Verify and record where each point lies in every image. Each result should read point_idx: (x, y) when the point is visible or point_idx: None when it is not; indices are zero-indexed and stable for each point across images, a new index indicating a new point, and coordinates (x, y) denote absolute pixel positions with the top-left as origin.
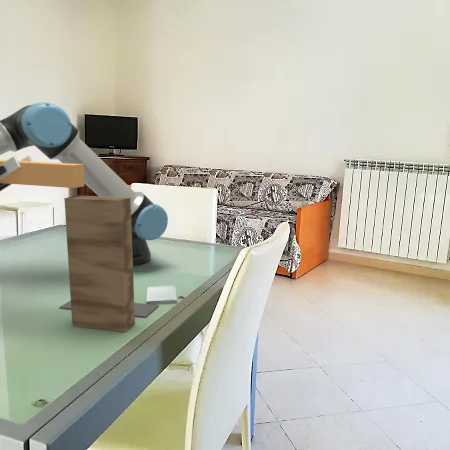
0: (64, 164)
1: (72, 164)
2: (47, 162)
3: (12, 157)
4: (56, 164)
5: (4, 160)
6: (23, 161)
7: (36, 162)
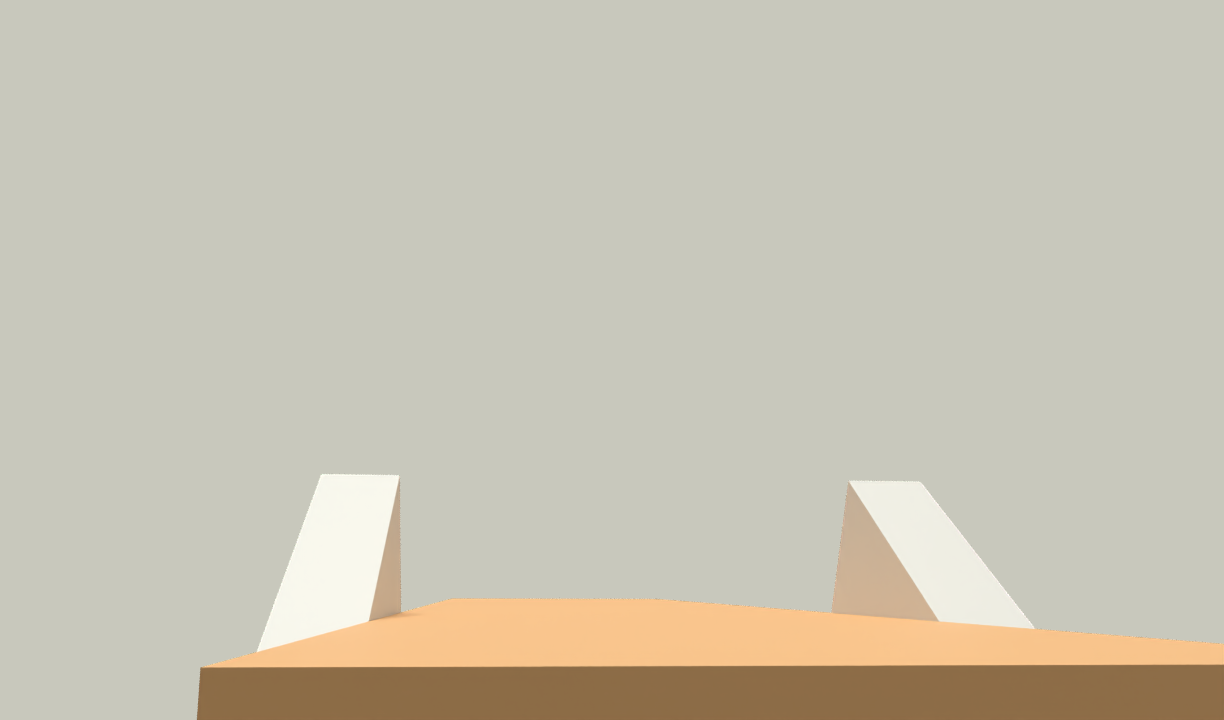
0: (621, 600)
1: (559, 599)
2: (461, 605)
3: (927, 504)
4: (685, 601)
5: (594, 639)
6: (538, 615)
7: (589, 607)
